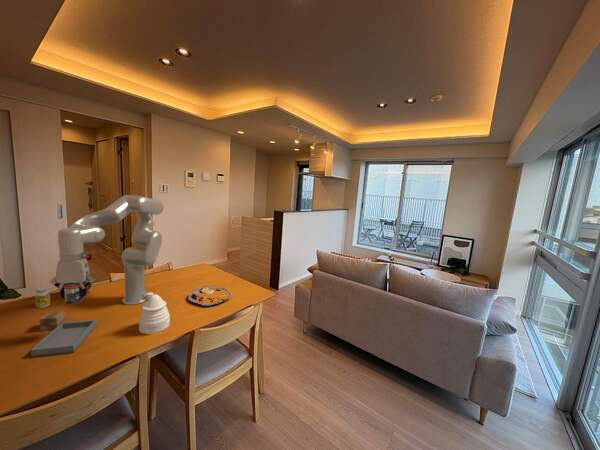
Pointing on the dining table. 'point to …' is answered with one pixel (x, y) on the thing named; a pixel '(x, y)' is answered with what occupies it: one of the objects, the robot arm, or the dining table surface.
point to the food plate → (205, 290)
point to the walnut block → (51, 320)
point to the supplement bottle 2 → (72, 293)
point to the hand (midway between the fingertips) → (74, 296)
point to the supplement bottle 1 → (42, 297)
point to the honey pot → (154, 315)
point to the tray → (64, 338)
